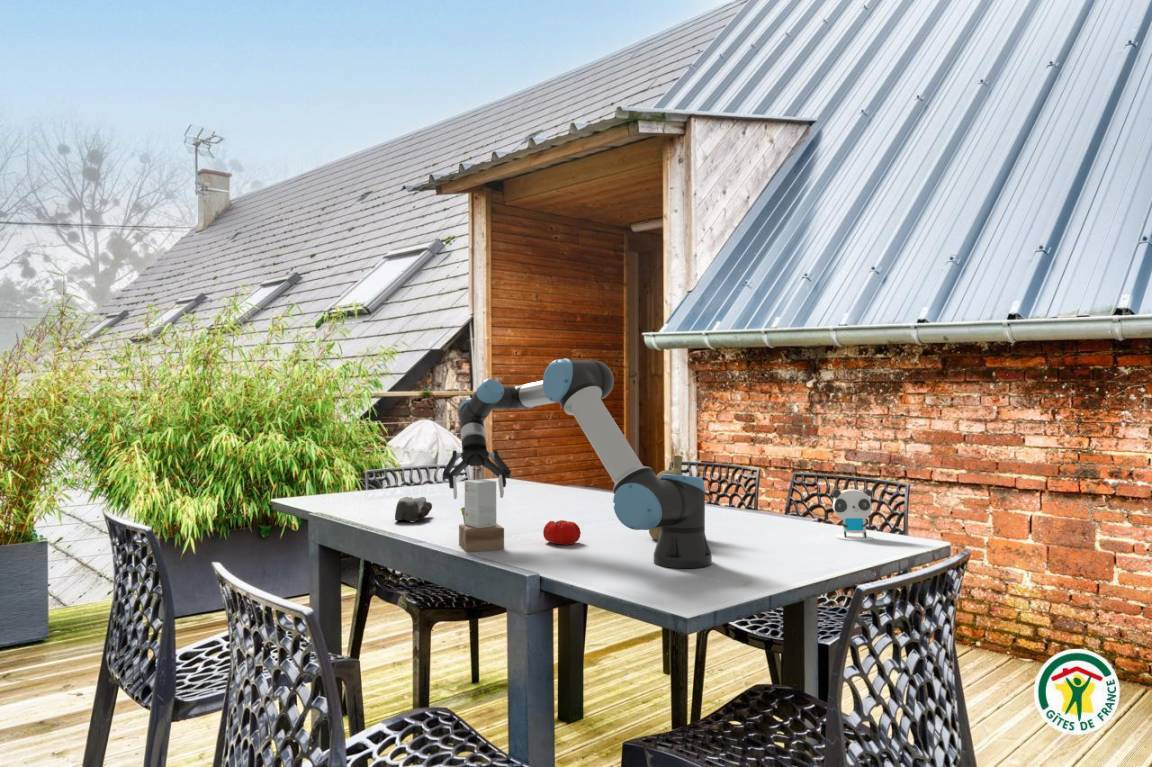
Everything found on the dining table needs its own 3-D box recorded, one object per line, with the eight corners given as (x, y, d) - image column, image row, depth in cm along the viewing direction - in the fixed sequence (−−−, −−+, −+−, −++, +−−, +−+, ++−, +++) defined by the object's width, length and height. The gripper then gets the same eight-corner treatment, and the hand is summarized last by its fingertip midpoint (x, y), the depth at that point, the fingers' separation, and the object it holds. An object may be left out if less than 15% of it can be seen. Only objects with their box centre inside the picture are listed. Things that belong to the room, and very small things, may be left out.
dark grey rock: (425, 524, 279) (425, 501, 279) (392, 524, 279) (392, 501, 279) (433, 516, 297) (433, 494, 298) (402, 516, 297) (402, 494, 297)
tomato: (560, 539, 250) (560, 517, 250) (586, 543, 242) (586, 521, 243) (536, 543, 243) (536, 521, 244) (562, 548, 236) (562, 525, 236)
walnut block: (504, 549, 233) (504, 527, 233) (465, 551, 230) (465, 529, 230) (495, 542, 243) (495, 522, 244) (459, 545, 240) (459, 523, 240)
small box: (496, 526, 235) (496, 481, 235) (477, 528, 231) (477, 482, 232) (482, 523, 242) (482, 478, 242) (463, 525, 238) (463, 480, 238)
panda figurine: (835, 540, 247) (834, 490, 248) (829, 534, 258) (829, 486, 259) (876, 541, 245) (876, 491, 246) (868, 535, 257) (868, 487, 257)
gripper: (512, 448, 259) (519, 502, 244) (432, 449, 253) (435, 504, 238) (514, 432, 254) (522, 486, 239) (433, 433, 248) (436, 488, 233)
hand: (479, 495), depth 238 cm, fingers open, 13 cm apart
